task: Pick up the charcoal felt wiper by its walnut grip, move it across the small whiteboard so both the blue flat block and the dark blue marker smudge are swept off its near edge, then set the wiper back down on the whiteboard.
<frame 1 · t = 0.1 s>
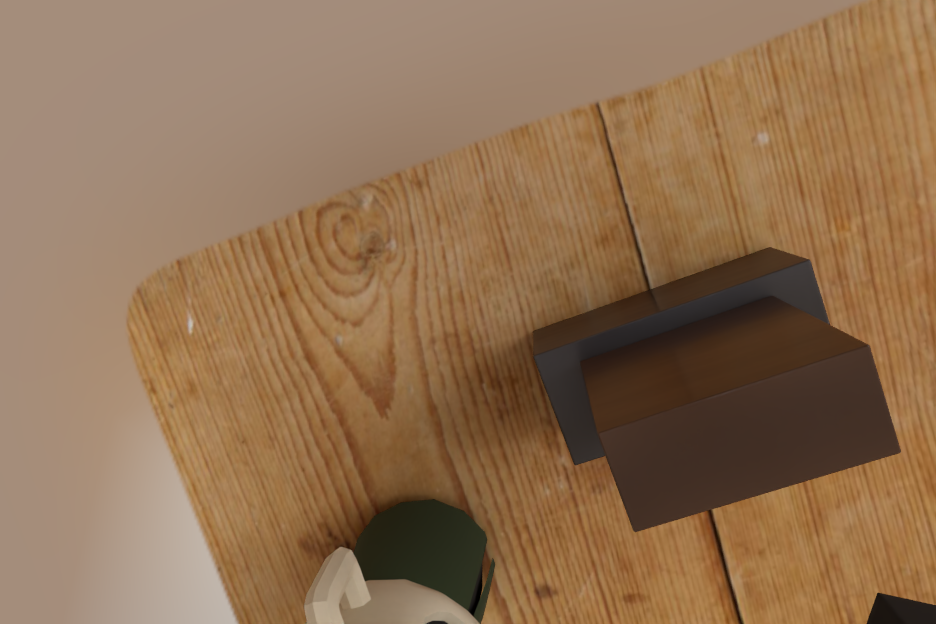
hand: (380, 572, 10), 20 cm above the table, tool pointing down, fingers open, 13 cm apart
wiper: (665, 340, 28), on the table
character mug: (426, 553, 32), on the table
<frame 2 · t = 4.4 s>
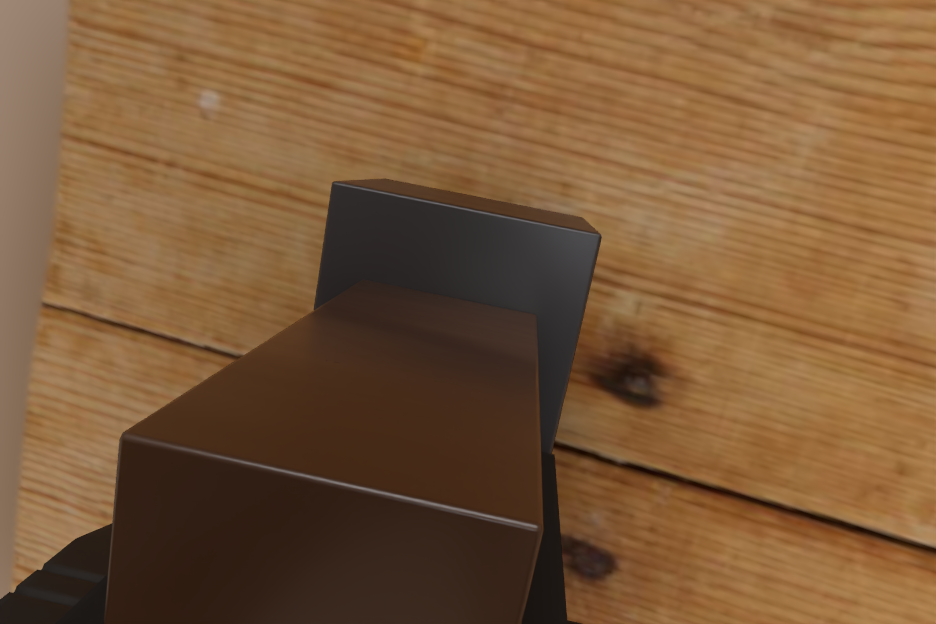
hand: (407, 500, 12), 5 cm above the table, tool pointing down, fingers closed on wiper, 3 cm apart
wiper: (442, 410, 16), on the table, touching gripper
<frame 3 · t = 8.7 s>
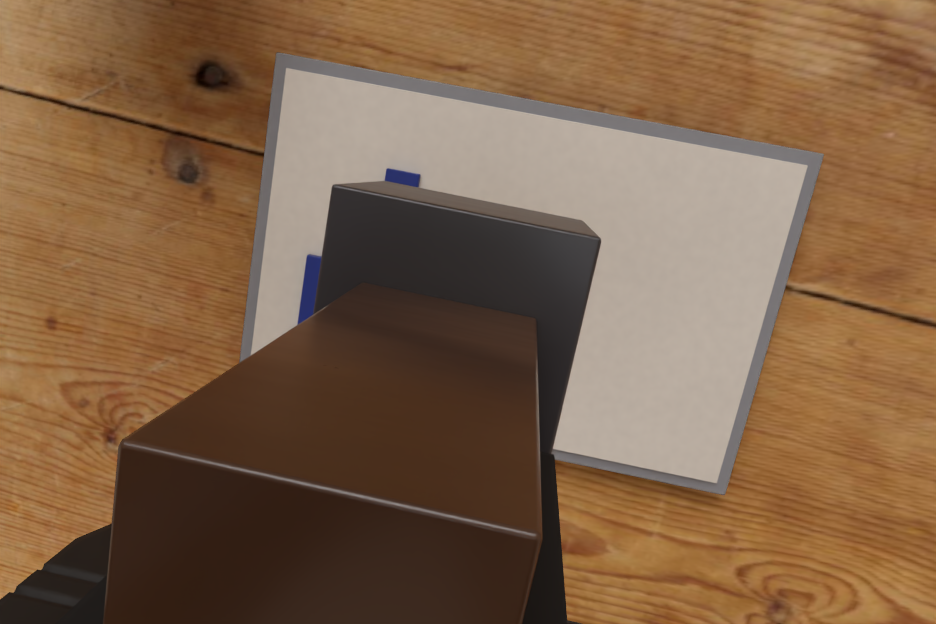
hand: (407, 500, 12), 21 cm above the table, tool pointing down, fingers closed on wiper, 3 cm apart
whiteboard: (509, 278, 32), on the table
blue flat block: (397, 215, 31), point 1 cm above the table, touching whiteboard
wiper: (441, 412, 16), point 17 cm above the table, touching gripper
smudge b: (319, 298, 32), point 1 cm above the table, touching whiteboard
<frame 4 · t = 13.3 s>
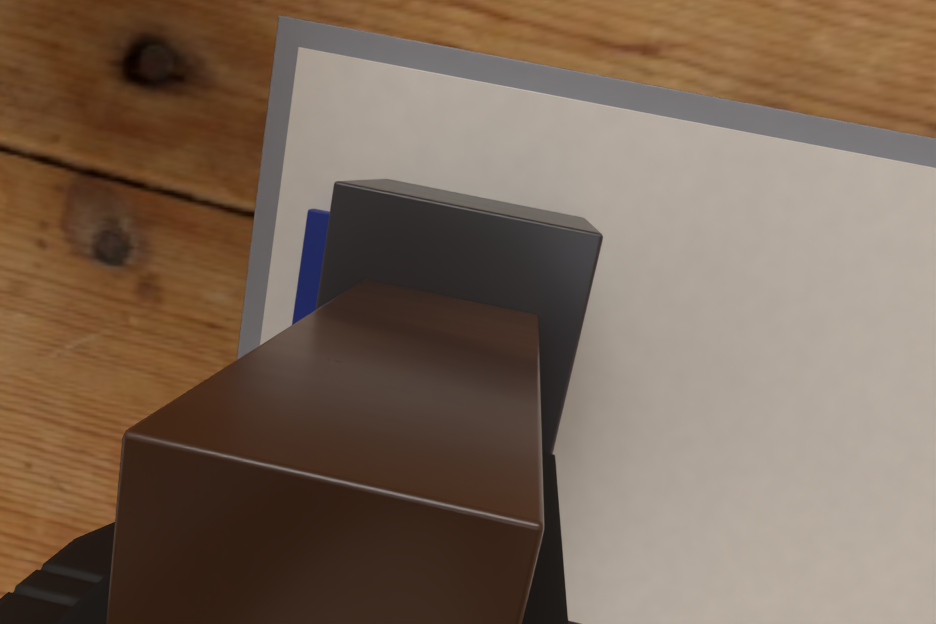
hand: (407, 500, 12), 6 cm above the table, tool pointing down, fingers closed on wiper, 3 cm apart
whiteboard: (719, 451, 17), on the table
blue flat block: (332, 300, 16), point 1 cm above the table, touching wiper
wiper: (443, 410, 16), point 1 cm above the table, touching gripper, blue flat block
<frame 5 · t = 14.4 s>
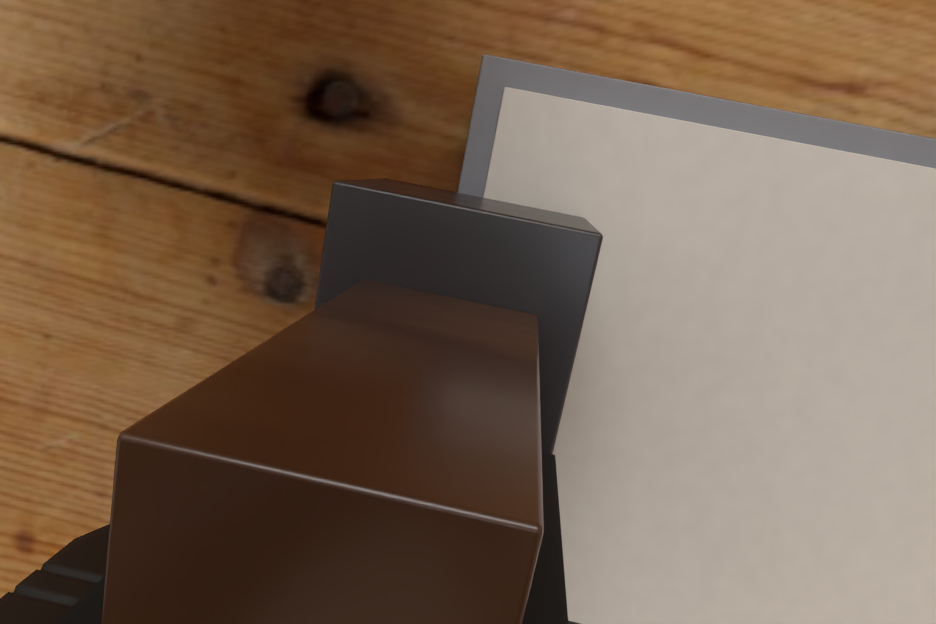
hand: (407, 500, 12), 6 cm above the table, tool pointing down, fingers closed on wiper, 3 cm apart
whiteboard: (906, 493, 17), on the table
wiper: (443, 410, 16), point 1 cm above the table, touching gripper, whiteboard
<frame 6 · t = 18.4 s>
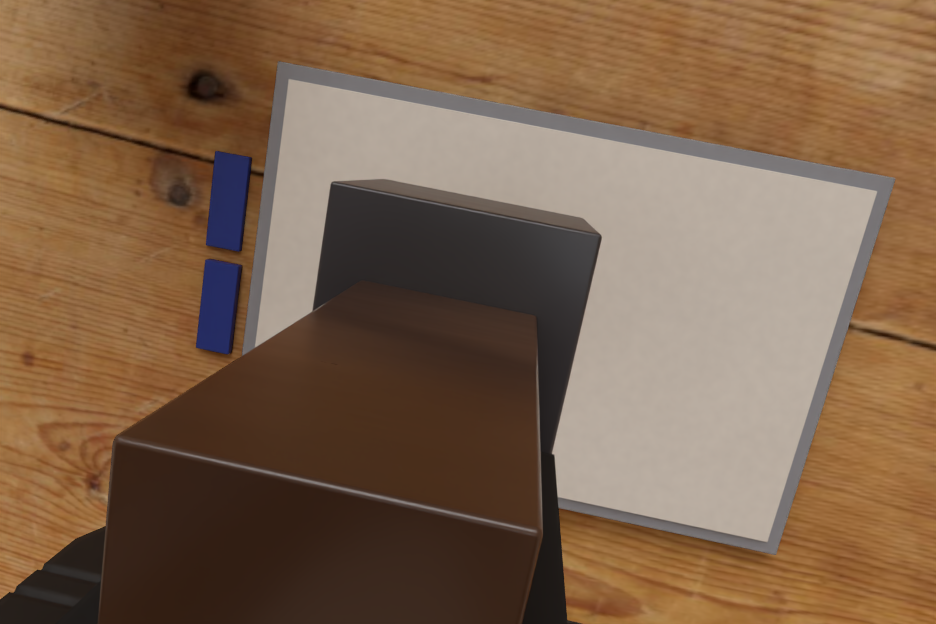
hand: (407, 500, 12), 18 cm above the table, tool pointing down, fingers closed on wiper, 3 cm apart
whiteboard: (536, 313, 29), on the table
blue flat block: (227, 202, 29), on the table, tilted 180°
wiper: (441, 411, 16), point 13 cm above the table, touching gripper
smudge b: (216, 307, 30), on the table, tilted 180°
when the fingers open (6 cm above the table, at t = 21.3 s): wiper stays where it is, resting on whiteboard.
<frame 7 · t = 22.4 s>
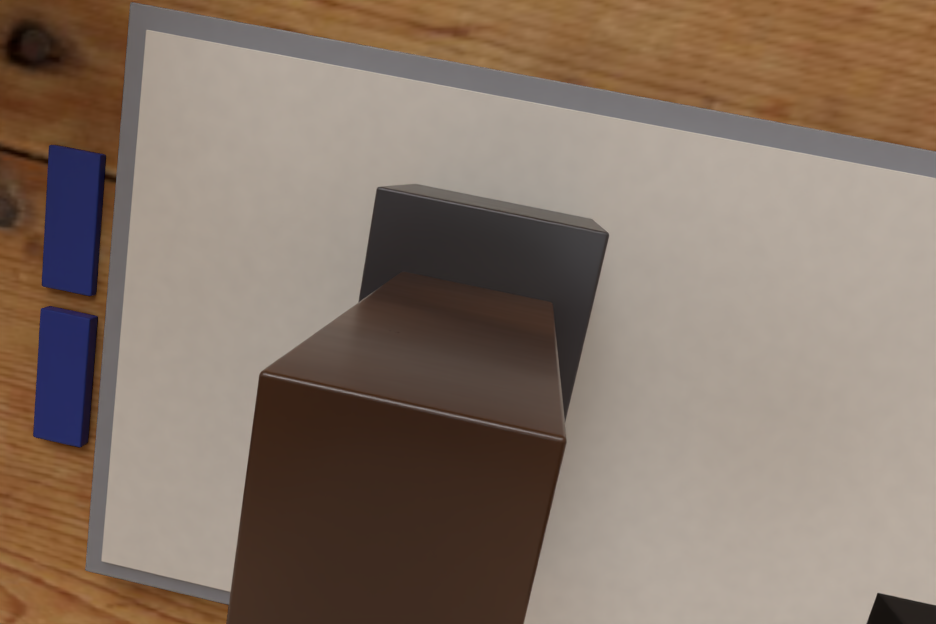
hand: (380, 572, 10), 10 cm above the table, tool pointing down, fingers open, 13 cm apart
whiteboard: (539, 393, 19), on the table
blue flat block: (70, 222, 19), on the table, tilted 180°
wiper: (464, 392, 18), point 1 cm above the table, touching whiteboard
smudge b: (60, 379, 20), on the table, tilted 180°
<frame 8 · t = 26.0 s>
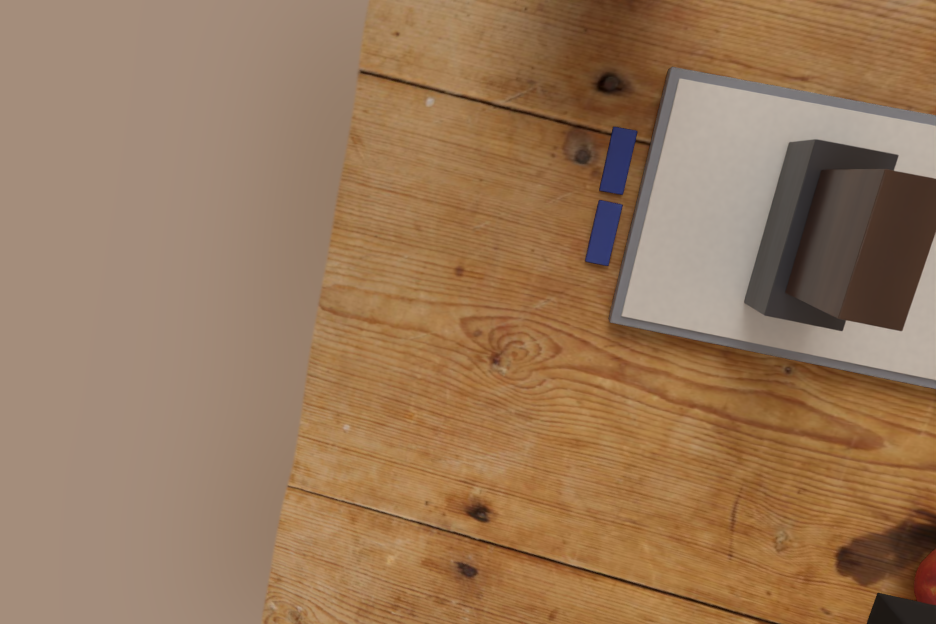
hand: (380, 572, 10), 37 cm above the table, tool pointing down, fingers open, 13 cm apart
whiteboard: (826, 235, 43), on the table
blue flat block: (618, 161, 43), on the table, tilted 180°
wiper: (802, 231, 42), point 1 cm above the table, touching whiteboard
smudge b: (603, 233, 44), on the table, tilted 180°
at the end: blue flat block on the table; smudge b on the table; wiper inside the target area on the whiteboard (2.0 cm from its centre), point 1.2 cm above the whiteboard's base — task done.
